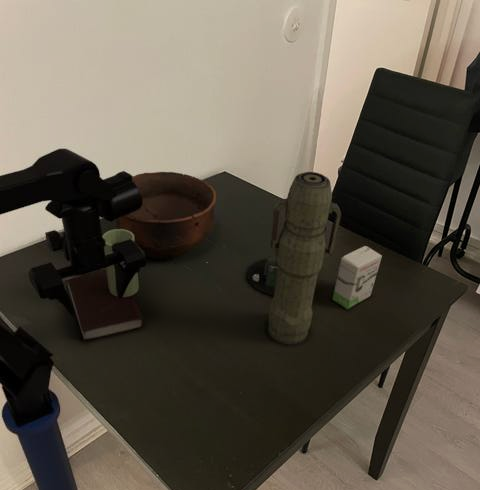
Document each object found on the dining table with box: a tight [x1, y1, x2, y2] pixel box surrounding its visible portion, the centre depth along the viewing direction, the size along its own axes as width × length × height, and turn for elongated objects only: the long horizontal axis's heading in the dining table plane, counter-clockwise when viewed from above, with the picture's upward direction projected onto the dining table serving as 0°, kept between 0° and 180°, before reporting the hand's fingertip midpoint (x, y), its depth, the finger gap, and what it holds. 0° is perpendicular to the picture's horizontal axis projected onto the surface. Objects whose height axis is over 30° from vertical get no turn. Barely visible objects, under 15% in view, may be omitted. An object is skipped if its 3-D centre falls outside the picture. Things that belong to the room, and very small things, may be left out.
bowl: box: [115, 171, 218, 260], centre depth 124 cm, size 25×25×15 cm
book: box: [67, 268, 144, 342], centre depth 110 cm, size 12×19×3 cm, turn 23°
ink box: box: [332, 245, 383, 310], centre depth 114 cm, size 9×5×12 cm, turn 130°
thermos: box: [267, 171, 342, 345], centre depth 97 cm, size 9×12×35 cm
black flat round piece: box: [247, 253, 278, 297], centre depth 121 cm, size 15×15×6 cm
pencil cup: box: [102, 228, 140, 297], centre depth 106 cm, size 6×6×13 cm
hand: (96, 305), depth 91 cm, fingers open, 9 cm apart
